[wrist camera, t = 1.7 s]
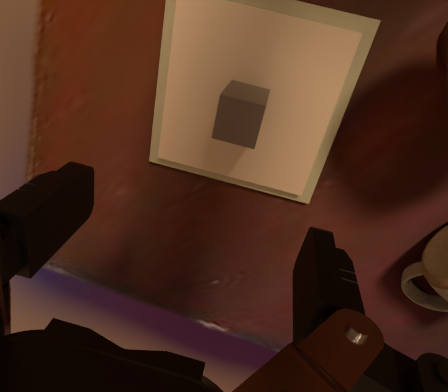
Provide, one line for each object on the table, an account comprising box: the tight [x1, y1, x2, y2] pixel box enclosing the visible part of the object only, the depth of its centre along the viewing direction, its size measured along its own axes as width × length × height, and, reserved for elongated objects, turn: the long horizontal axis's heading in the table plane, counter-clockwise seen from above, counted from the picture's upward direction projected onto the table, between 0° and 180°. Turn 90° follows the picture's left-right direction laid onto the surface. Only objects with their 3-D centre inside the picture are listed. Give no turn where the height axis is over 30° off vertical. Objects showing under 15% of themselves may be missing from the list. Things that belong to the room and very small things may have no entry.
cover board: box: [158, 0, 362, 196], centre depth 25 cm, size 13×13×6 cm
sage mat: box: [149, 0, 380, 204], centre depth 28 cm, size 15×15×1 cm
